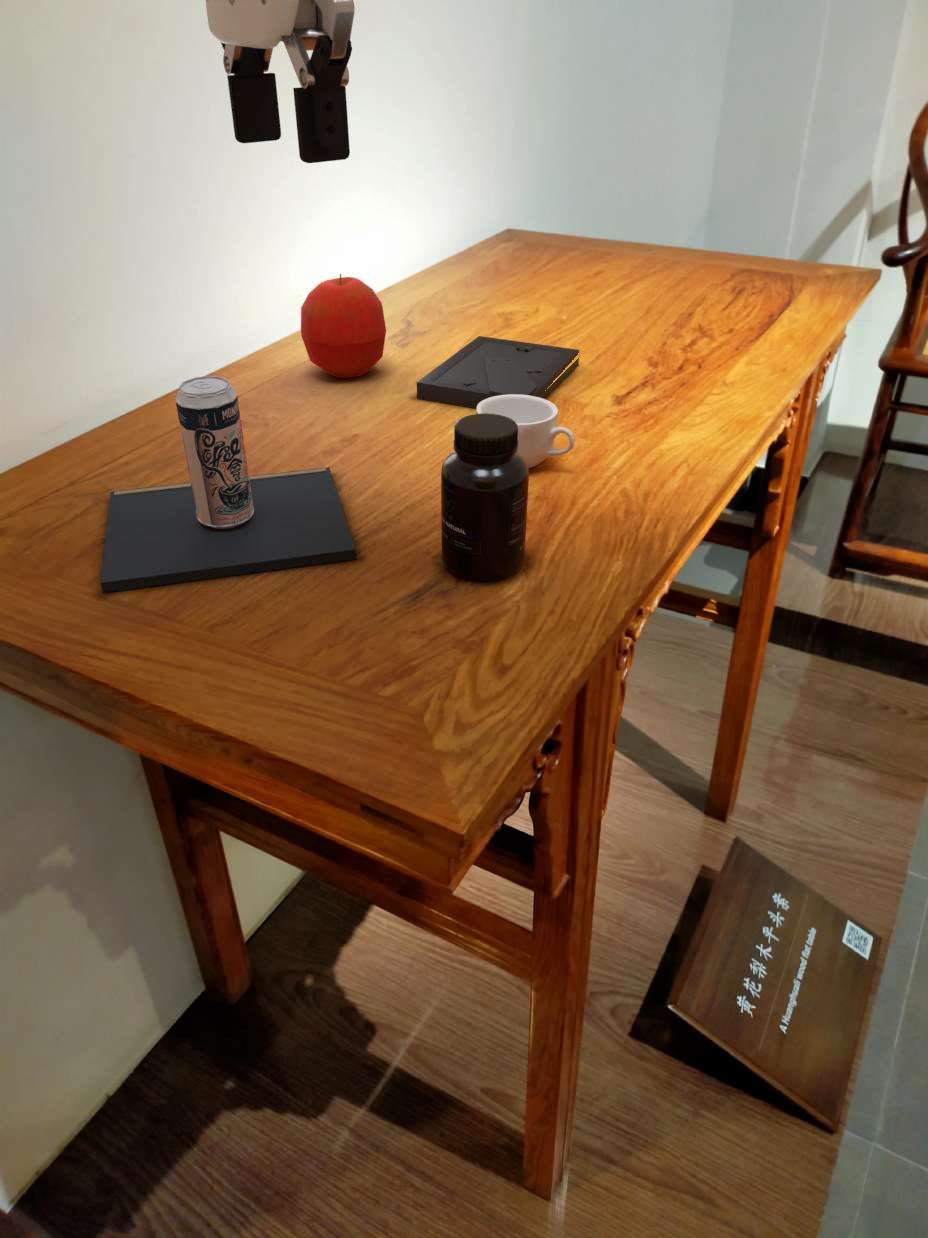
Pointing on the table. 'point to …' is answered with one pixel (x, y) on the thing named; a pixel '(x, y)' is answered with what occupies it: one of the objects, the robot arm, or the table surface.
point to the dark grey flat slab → (223, 532)
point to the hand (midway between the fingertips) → (290, 149)
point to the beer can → (215, 451)
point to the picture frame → (496, 372)
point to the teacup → (530, 424)
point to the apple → (343, 327)
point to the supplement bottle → (484, 499)
